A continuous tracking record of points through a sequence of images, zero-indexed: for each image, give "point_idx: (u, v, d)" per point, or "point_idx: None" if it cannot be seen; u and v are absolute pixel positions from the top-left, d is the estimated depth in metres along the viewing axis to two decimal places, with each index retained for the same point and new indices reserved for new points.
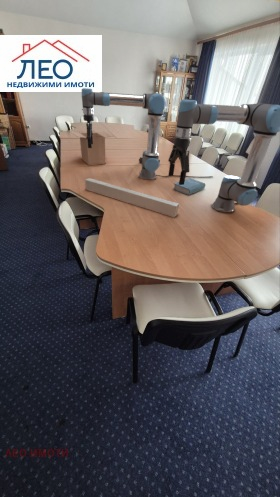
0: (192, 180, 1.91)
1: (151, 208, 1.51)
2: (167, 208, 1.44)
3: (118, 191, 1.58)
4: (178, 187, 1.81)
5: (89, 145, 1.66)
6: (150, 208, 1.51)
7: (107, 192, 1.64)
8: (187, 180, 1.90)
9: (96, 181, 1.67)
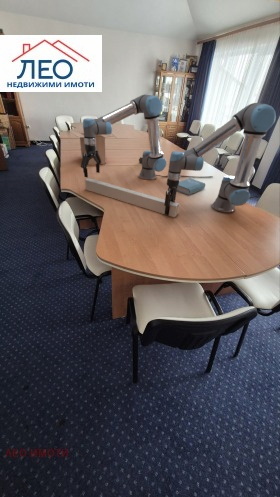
0: (192, 180, 1.91)
1: (151, 208, 1.51)
2: None
3: (118, 191, 1.58)
4: (178, 187, 1.81)
5: None
6: (150, 208, 1.51)
7: (107, 192, 1.64)
8: (187, 180, 1.90)
9: (96, 181, 1.67)
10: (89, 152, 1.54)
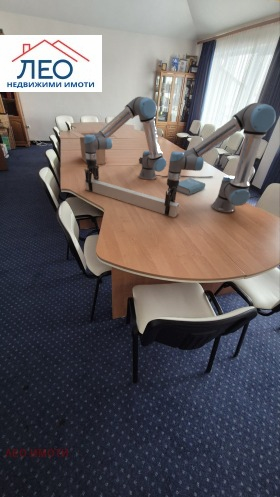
0: (192, 180, 1.91)
1: (151, 208, 1.51)
2: None
3: (118, 191, 1.58)
4: (178, 187, 1.81)
5: None
6: (150, 208, 1.51)
7: (107, 192, 1.64)
8: (187, 180, 1.90)
9: (96, 181, 1.67)
10: (90, 166, 1.60)
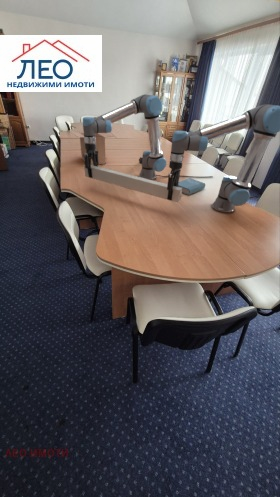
0: (192, 180, 1.91)
1: (153, 193, 1.45)
2: None
3: (119, 176, 1.52)
4: None
5: None
6: (152, 193, 1.45)
7: (107, 178, 1.58)
8: (187, 180, 1.90)
9: (96, 167, 1.61)
10: (89, 151, 1.54)
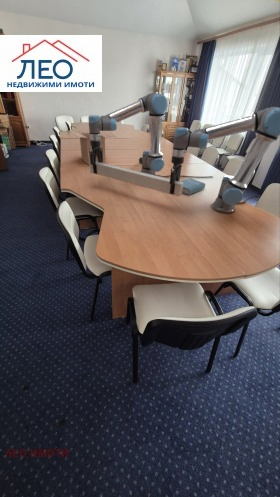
0: (192, 180, 1.91)
1: (156, 188, 1.51)
2: None
3: (123, 172, 1.58)
4: None
5: None
6: (155, 188, 1.52)
7: (111, 174, 1.64)
8: (187, 180, 1.90)
9: (100, 163, 1.68)
10: (94, 148, 1.60)
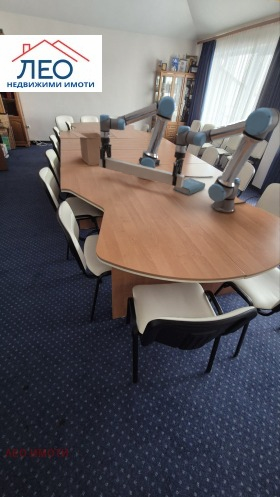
0: (192, 180, 1.91)
1: (159, 180, 1.68)
2: None
3: (130, 166, 1.75)
4: (178, 187, 1.81)
5: None
6: (159, 180, 1.69)
7: (119, 168, 1.81)
8: (187, 180, 1.90)
9: (109, 158, 1.85)
10: (104, 144, 1.77)
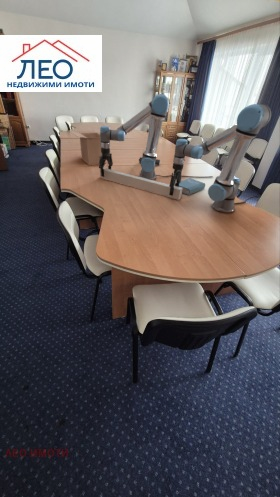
0: (192, 180, 1.91)
1: (158, 192, 1.74)
2: None
3: (130, 178, 1.81)
4: None
5: None
6: (157, 192, 1.75)
7: (119, 179, 1.87)
8: (187, 180, 1.90)
9: (109, 170, 1.90)
10: (104, 154, 1.82)
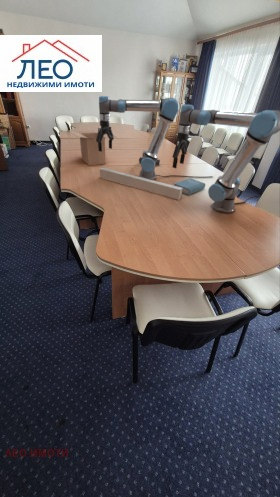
0: (192, 180, 1.91)
1: (158, 192, 1.74)
2: (173, 191, 1.67)
3: (130, 178, 1.81)
4: None
5: None
6: (157, 192, 1.75)
7: (119, 179, 1.87)
8: (187, 180, 1.90)
9: (109, 170, 1.90)
10: (103, 127, 1.70)
